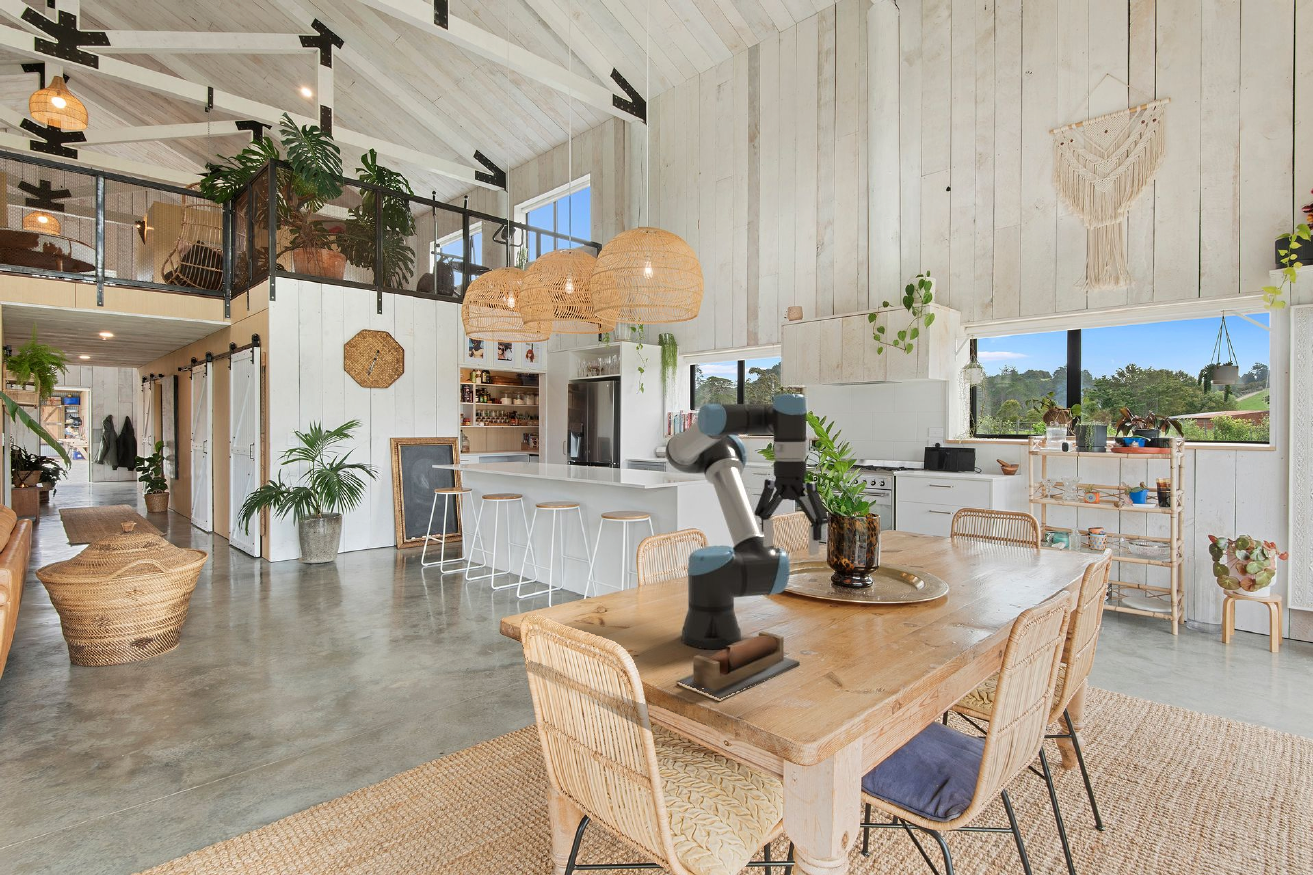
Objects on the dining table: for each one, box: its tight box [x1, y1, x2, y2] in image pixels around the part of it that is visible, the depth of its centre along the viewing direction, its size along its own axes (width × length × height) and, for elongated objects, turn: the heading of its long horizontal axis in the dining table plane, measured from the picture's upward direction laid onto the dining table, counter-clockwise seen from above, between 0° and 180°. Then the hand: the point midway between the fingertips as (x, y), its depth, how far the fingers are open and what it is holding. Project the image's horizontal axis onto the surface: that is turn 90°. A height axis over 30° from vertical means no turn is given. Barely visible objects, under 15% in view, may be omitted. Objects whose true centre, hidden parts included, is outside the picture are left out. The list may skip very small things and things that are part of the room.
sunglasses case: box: [707, 635, 777, 675], centre depth 145 cm, size 18×7×7 cm
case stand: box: [676, 630, 801, 699], centre depth 146 cm, size 12×28×6 cm, turn 134°
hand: (790, 550), depth 155 cm, fingers open, 13 cm apart
